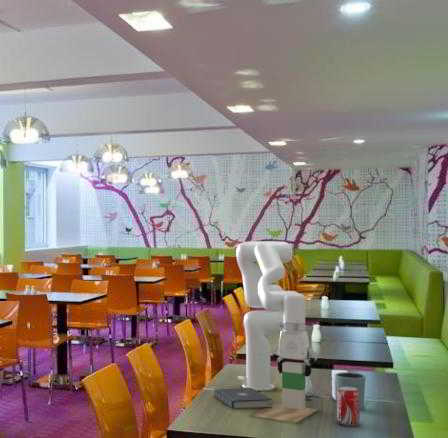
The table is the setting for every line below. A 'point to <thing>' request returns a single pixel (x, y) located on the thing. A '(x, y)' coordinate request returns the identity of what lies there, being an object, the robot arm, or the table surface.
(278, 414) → the mat
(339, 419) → the soda can
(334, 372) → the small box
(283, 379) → the packet
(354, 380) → the grey cup
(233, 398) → the book
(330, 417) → the table surface
